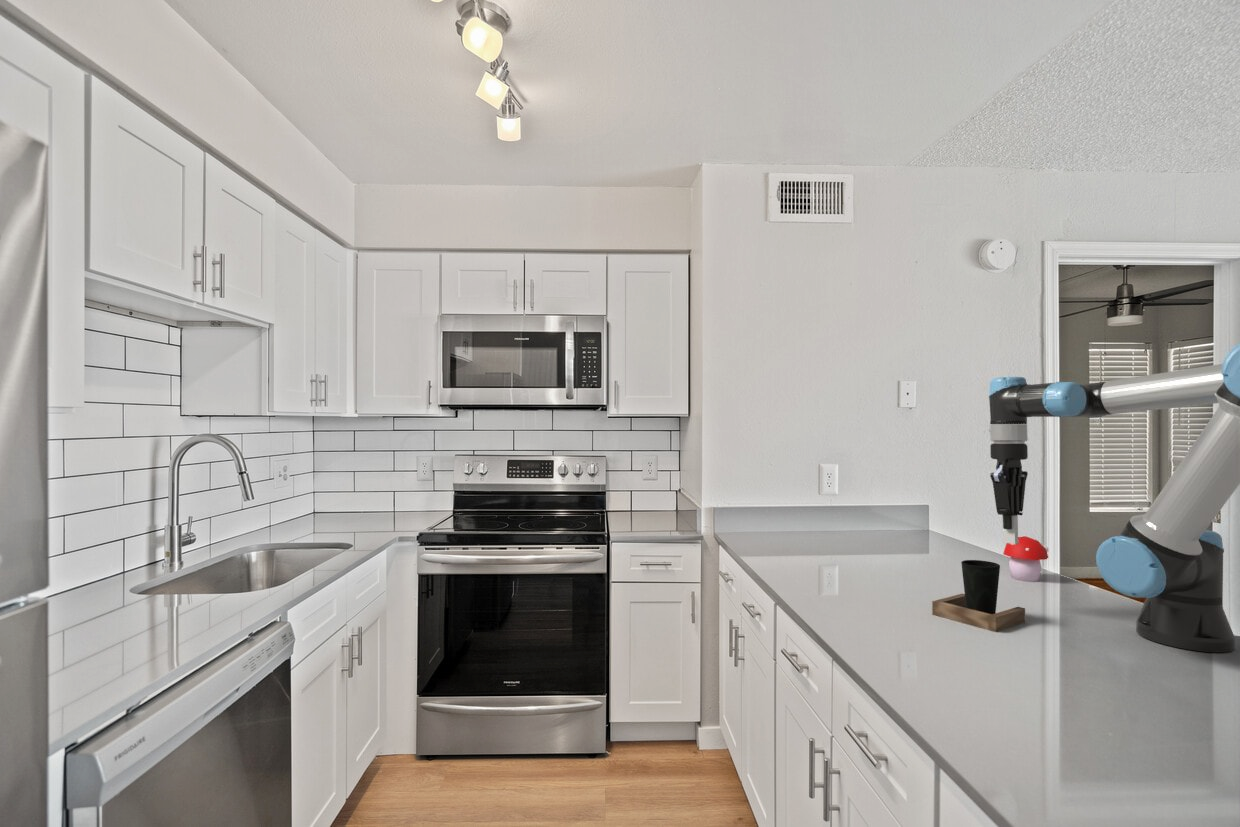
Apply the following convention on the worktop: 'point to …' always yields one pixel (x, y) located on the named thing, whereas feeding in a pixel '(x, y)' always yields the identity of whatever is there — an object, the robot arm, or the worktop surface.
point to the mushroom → (1026, 558)
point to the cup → (981, 585)
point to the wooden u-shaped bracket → (976, 614)
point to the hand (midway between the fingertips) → (1010, 542)
